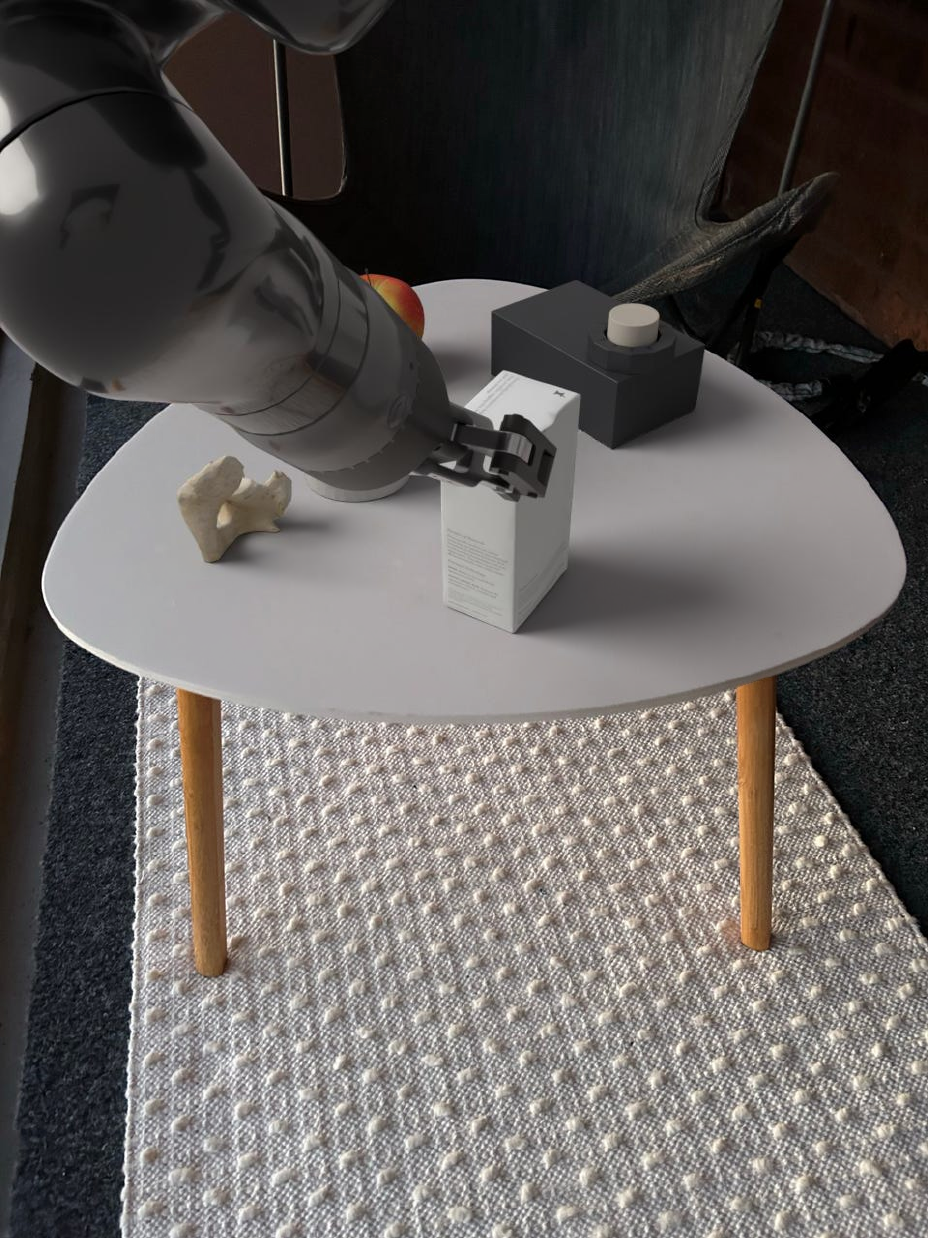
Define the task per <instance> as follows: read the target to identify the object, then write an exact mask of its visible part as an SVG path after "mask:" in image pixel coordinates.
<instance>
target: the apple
mask: <svg viewBox="0 0 928 1238" xmlns="http://www.w3.org/2000/svg"><path fill="white" fill-rule="evenodd" d="M364 272H365V274H362V275H359V276H360V277H361V278H363V279H364V280H365V281H367V282H368V283H369V284H370V285H371V286H372V287H373V288H374V289H375V290H376V291H377V292H378V293H379V294H380V295H381V296H382V297H383V298H384V300H385V301H386V302H387V303H388V304H389V305H390V306H391V307H392V308H393V309H394V310H395V311H396V313H397V314H398V315H399V316H400V317H401V318H402V319H403V320H404V321H405V322H406V323H407V324H408V326H409V327H410V328H411V329H412V330H413V331H414V332H415V333H416V334H417V335H418V336H419V338H420V339H421V340H422V341H423V338H424V332H425V324H426V323H425V320H426V319H425V310H424V306H423V303H422V301H421V298H420V297H419V295H418V293H417V292H416V291H415V289H413V288H412V287H411V286H410V285H409V284H408V283H406V282H405V281H403V280H402V279H399V278H396V277H391V276H388V275H382V274H377V273H376V274H375V273H369V269H368V268H365V270H364Z"/></svg>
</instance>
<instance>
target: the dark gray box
mask: <svg viewBox="0 0 928 1238" xmlns="http://www.w3.org/2000/svg"><path fill="white" fill-rule="evenodd" d="M622 304H624V303H623V302H621V301H620V300H617V299H615V298H613V297H612V296H609V295H607V294H605V293H603V292H601V291H599V290H598V289H596V288H594V287H592V286H590V285H587V284H585V283H584V282H582V281H580V280H577V279H575V280H573V281H570V282H569V281H568V282H567V283H563V284H561V285H558V286H556V287H553V288H550V289H547V290H545V291H542V292H540V293H537V294H534V295H531V296H529V297H525V298H523V299H520V300H519V301H514V302H512V303H509V304H507V305H504V306H501V307H499V308H496V309H492V310H491V312H490V313H491V314H490V316H491V319H490V320H491V321H490V324H491V325H490V326H491V327H490V333H491V334H490V339H491V342H490V345H491V346H490V374H491V375H492V376H494V378H495V377H496V376H497V375H498V374H500V373H501V372H502V371H509V372H512V373H516V374H518V375H521V376H524V377H527V378H530V379H533V380H536V381H539V382H543V383H546V384H550V385H553V386H556V387H559V388H563V389H566V390H569V391H572V392H575V393H578V394H580V409H579V422H578V430H580V431H581V432H583V433H585V434H587V435H588V436H589V437H591V438H593V439H594V440H597V441H598V442H599V443H601V444H603V445H604V446H606V447H607V448H609V449H611V450H613V449H615V448H617V447H620V446H621V445H623V444H626V443H628V442H631V441H632V440H634V439H636V438H639V437H640V436H642V435H645V434H647V433H649V432H651V431H653V430H655V429H657V428H659V427H661V426H664V425H666V424H668V423H671V422H672V421H674V420H676V419H678V418H681V417H683V416H685V415H687V414H689V413H692V412H694V411H696V410H697V406H698V405H697V403H698V398H699V390H700V385H701V376H702V371H703V364H704V356H705V349H706V344H704V343H703V342H701V341H699V340H697V339H695V338H693V337H691V336H689V335H687V334H685V333H683V332H681V331H679V330H677V329H675V328H673V326H672V325H671V324H669V323H667V322H665V321H663V320H661V319H659V325H658V334H657V341H656V342H655V343H653V344H651V345H649V346H642V347H628V346H622V345H617V344H615V343H613V342H611V341H609V340H608V338H607V333H608V320H609V312H610V310H611V309H612V308H614V307H616V306H618V305H622Z"/></svg>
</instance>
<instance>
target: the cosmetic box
mask: <svg viewBox="0 0 928 1238" xmlns="http://www.w3.org/2000/svg"><path fill="white" fill-rule="evenodd" d="M463 407H464V408H466V409H469V410H471V411H474V412H476V413H478V414H481V415H483V416H486V417H488V418H489V419H490V420H491V421H492V423H493V427H494V430H499V428H500V425H501V421H503V418H504V415H505V414H511V415H513V414H520V415H522V416H524V418H526V419H528V420H530V421H531V422H532V423H533V424H534V425H535V426H536V427H537V428H538V429H539V431H540V432H541V433H542V434H543V435H544V436H545V437H546V438H547V439H548V440H549V441H550V442H551V443H552V444H553V445H554V446H555V447H556V448H557V451H556V455H555V458H554V463H553V467H552V471H551V474H550V478H549V482H548V486H547V490H546V494H545V498H539V497H537V499H533V498H530V497H527V496H523V495H521V497H520V499H519V501H518V502H513V501H508V500H504V499H503V498H502V497H501V496H500V495H498V494H497V493H496V492H495V491H493V490H492V489H491V488H489V487H486V486H483V485H481V484H478V485H477V486H476V487H458V486H454V485H451V484H448V483H445V482H443V481H440V520H441V522H440V523H441V524H440V525H441V566H442V568H441V570H442V601H443V602H442V603H443V605H445V606H446V607H448V608H450V609H452V610H455V611H457V612H460V613H462V614H465V615H468V616H470V617H472V618H475V619H477V620H479V621H482V622H483V623H486V624H489V625H491V626H493V627H496V628H499V629H500V630H503V631H506V632H507V633H511V634H515V633H516V632H517V630H518V629H519V628H520V627H521V625H523V623H524V622H525V621H526V619H527V618H528V617H529V616H530V615H531V613H532V612H534V610H535V608H536V607H538V605H539V604H540V602H541V601H542V600H543V599H544V597H545V596H546V595H547V594H548V593H549V591H550V590H551V589H552V588H553V586H555V583H556V582H557V581H558V580H559V578H560V577H561V576H562V574H563V573H564V572H565V571H566V570H567V569H568V563H569V562H568V561H569V549H570V535H571V525H572V513H573V512H572V511H573V498H574V486H575V471H576V459H577V448H578V447H577V446H578V435H579V428H578V422H579V409H580V394H578V393H575V392H572V391H569V390H566V389H563V388H559V387H556V386H553V385H550V384H546V383H543V382H539V381H536V380H533V379H530V378H527V377H524V376H521V375H518V374H516V373H512V372H509V371H502V372H501V373H500V374H498V375H497V376H496V377H495V376H494V378H493V379H492V380H491V381H490V382H488V383H487V385H485V387H484V388H482V389H481V390H480V391H479V392H478V393H477V394H476V395H475V396H474V397H473V398H472V399H471V400H469V402H467V403H466V404H465V405H464V406H463ZM491 460H492V458H491V457H488V456H485V460H484V464H483V468H484V470H485V471H486V472H488V473H489V467H490V464H491ZM440 465H442V466H445V467H448V468H450V469H454V467H455V465H456V461H452V462H448V463H443V464H440ZM490 474H491V473H490Z"/></svg>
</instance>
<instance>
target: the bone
mask: <svg viewBox="0 0 928 1238" xmlns="http://www.w3.org/2000/svg"><path fill="white" fill-rule="evenodd" d="M244 468H245V466H244V464H242V462H240V461H239V460H238V458H237V457H235V456H232V455H228V454H226V455H224V456H221V457H220V458H217V460H216V461H210V462H209V463H208V464H206V465H205V466H203V468H202V469H201V470H200V471H199V472H197V473H195V474H194V475H193V476H191V477H189V478H187V480H186V481H185V483H184V484H183V485H182V486H181V487H180V488H179V489H178V490H177V492H176V500H177V504H178V509H179V512H180V514H181V517H182V520H183V522H184V524H185V525H186V527H187V528H188V530H189V531H190V533H191V535H192V536H193V538H194V540H195V541H196V543H197V546H198V548H199V550H200V552H201V556H202V559H203V561H204V562H206V563H213V562H216V561H219V560H221V558H222V556H223V555H224V553H225V552H226V551H227V549H229V547H230V546H231V545H232V544H233V543H234V541H235V540H236V538H237V537H239V536H241V535H243V534H246V533H251V532H267V533H268V532H269V533H278V532H280V531H281V529H280V528H278V526H277V525H275V520H276V519H279V518H281V517H282V516H283V515H284V514H285V511H286V509H287V508H288V507H289V505H290V504H291V503H290V502H291V501H292V496H293V495H292V494H293V493H292V491H293V489H292V483H293V482H292V479H291V478H290V477H289V476H287V474H285V473H284V472H283V471H282V470H279V471H278V470H274V471H273V473H272V474H271V476H270V477H269V478H268V479H267V480H266V481H264V482H262V483H261V482H256V481H255V480H253V479H252V478H249V477H245V475H246V474H245V472H244ZM218 524H219V525H218Z"/></svg>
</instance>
